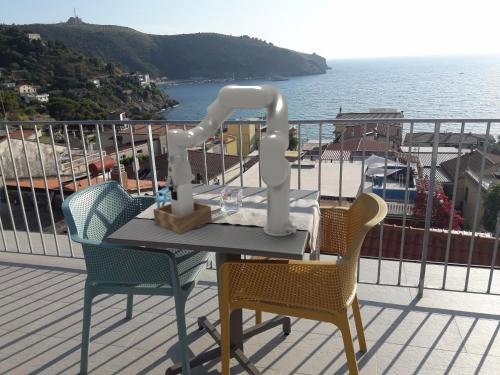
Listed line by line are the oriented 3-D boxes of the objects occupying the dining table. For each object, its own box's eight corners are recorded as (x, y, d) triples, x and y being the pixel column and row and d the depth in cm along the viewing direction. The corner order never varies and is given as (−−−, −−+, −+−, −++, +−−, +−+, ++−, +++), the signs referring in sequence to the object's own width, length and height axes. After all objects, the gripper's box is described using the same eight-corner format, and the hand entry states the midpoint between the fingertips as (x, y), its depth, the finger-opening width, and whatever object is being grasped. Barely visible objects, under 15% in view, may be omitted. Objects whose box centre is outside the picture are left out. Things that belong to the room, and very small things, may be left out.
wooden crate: (211, 220, 174) (210, 206, 172) (181, 233, 161) (179, 218, 159) (185, 212, 185) (184, 198, 183) (155, 223, 172) (153, 209, 170)
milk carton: (194, 216, 172) (191, 175, 166) (182, 220, 167) (178, 179, 161) (185, 212, 177) (181, 173, 171) (172, 217, 172) (168, 176, 166)
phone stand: (164, 207, 192) (161, 185, 188) (177, 209, 188) (175, 186, 185) (154, 213, 185) (151, 189, 182) (168, 215, 182) (165, 191, 178)
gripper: (167, 163, 155) (171, 204, 161) (199, 155, 168) (202, 193, 173) (156, 161, 160) (160, 201, 165) (187, 153, 173) (191, 190, 178)
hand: (181, 197), depth 169 cm, fingers closed on milk carton, 7 cm apart
